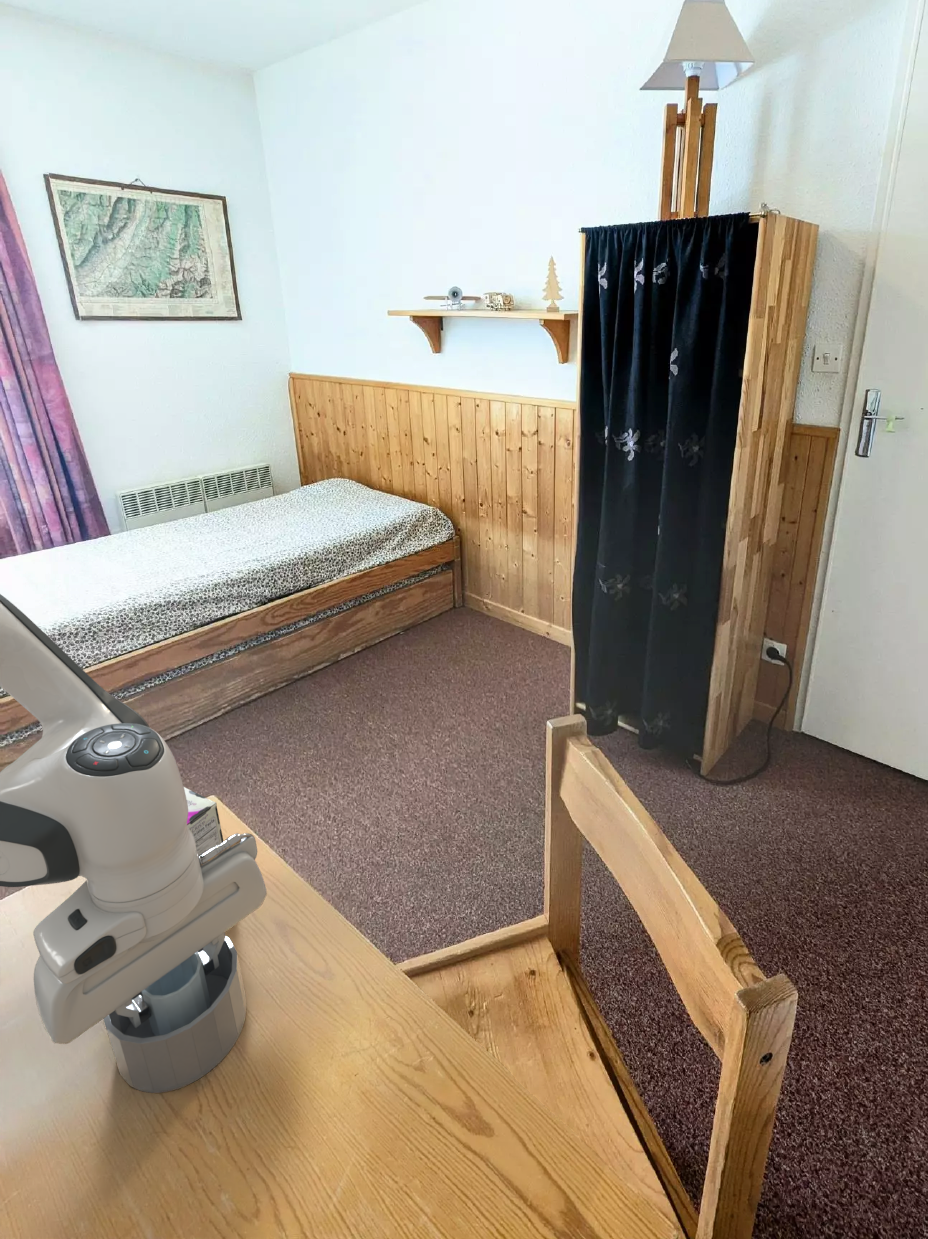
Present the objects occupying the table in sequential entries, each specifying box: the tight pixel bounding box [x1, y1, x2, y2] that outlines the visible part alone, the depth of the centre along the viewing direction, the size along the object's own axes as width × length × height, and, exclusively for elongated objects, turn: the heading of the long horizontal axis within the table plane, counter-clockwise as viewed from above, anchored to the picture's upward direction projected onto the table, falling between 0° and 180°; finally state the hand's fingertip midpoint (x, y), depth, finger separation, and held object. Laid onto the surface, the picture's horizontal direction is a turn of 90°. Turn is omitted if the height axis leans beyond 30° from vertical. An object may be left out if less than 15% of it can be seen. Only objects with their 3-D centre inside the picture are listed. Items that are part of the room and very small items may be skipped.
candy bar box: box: [184, 786, 224, 855], centre depth 81 cm, size 11×5×16 cm, turn 63°
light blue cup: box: [142, 952, 210, 1036], centre depth 67 cm, size 5×6×6 cm
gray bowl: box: [103, 934, 247, 1094], centre depth 68 cm, size 12×12×7 cm
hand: (175, 992), depth 67 cm, fingers closed on light blue cup, 5 cm apart
